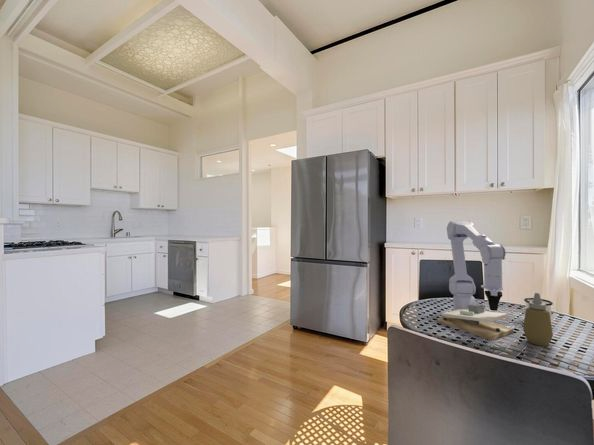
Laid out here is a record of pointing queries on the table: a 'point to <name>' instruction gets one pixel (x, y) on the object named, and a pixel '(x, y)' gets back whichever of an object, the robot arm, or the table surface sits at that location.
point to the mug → (548, 303)
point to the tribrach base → (477, 327)
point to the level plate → (475, 314)
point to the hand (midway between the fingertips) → (493, 310)
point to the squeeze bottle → (537, 323)
